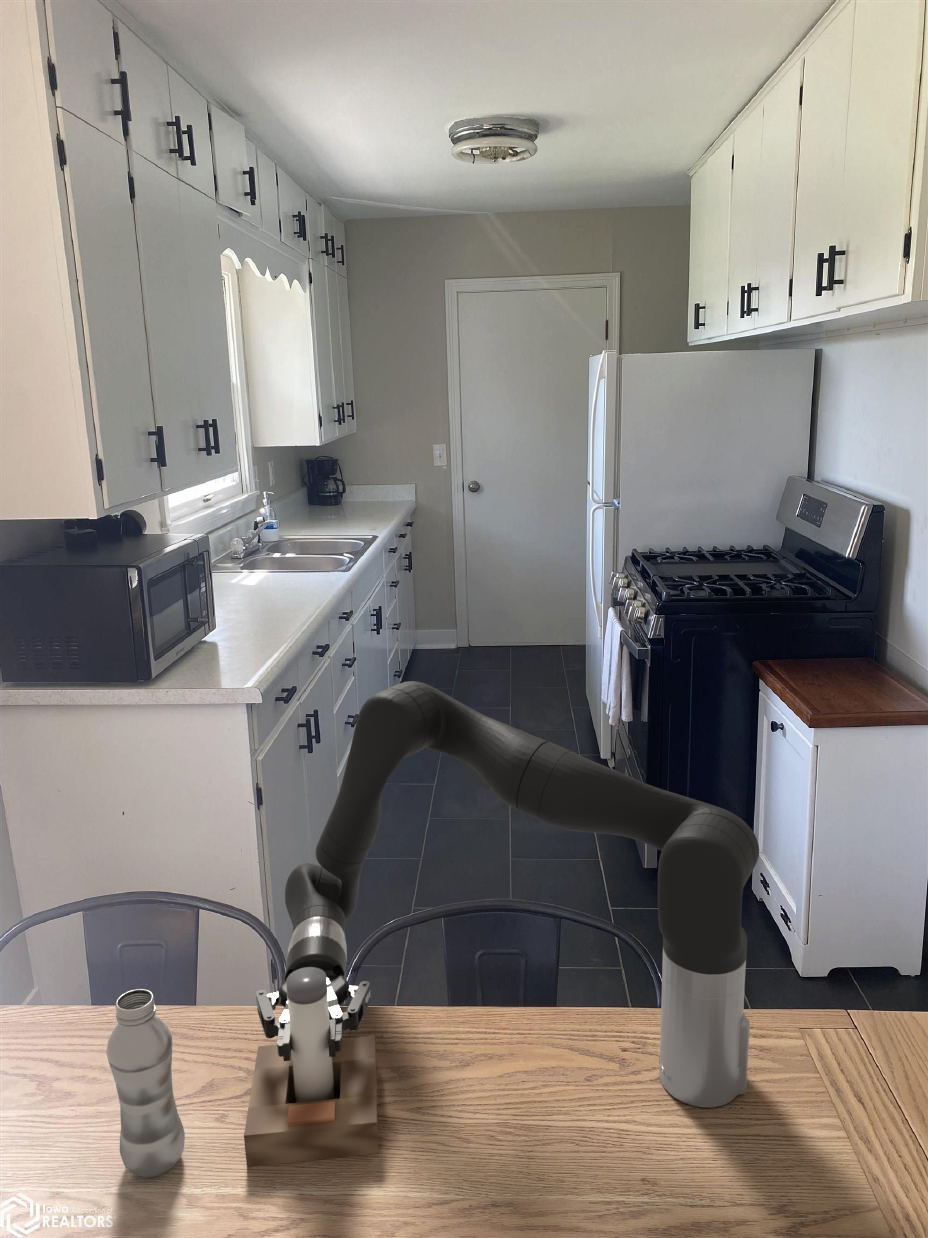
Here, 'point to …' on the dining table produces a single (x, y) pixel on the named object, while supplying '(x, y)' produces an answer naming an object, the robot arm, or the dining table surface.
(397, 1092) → the dining table surface
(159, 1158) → the plastic bottle
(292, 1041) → the plug
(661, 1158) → the dining table surface
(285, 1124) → the socket block
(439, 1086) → the dining table surface
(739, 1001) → the robot arm
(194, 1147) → the dining table surface
